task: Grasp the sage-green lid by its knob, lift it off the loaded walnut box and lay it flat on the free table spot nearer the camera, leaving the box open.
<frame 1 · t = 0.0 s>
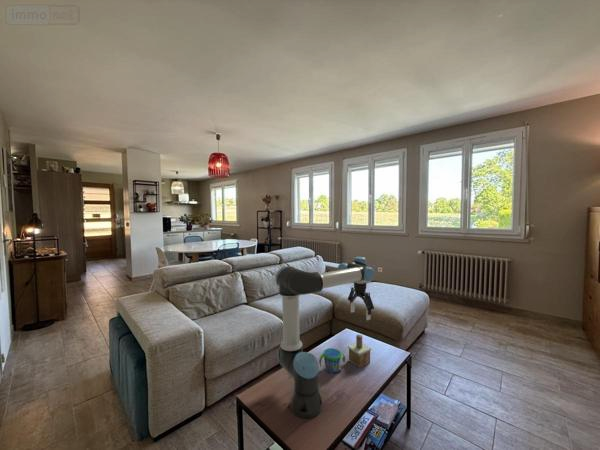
hand: (360, 315, 156), 28 cm above the table, fingers open, 13 cm apart
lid: (359, 349, 155), point 8 cm above the table, touching box
snack cup: (332, 369, 148), on the table
box: (359, 361, 156), on the table
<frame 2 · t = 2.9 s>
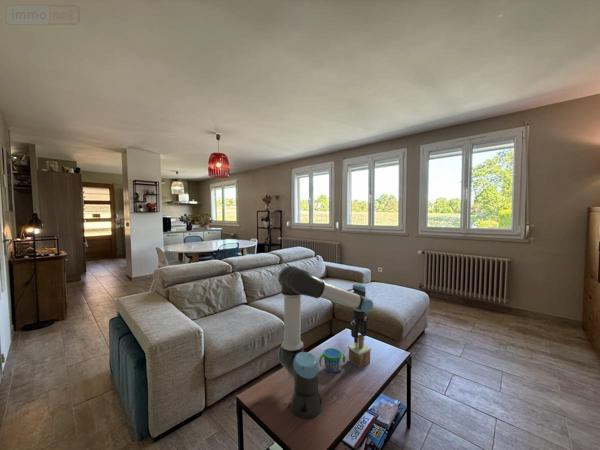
hand: (359, 346, 155), 10 cm above the table, fingers closed on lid, 3 cm apart
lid: (359, 349, 155), point 8 cm above the table, touching box, gripper
everything else where it was.
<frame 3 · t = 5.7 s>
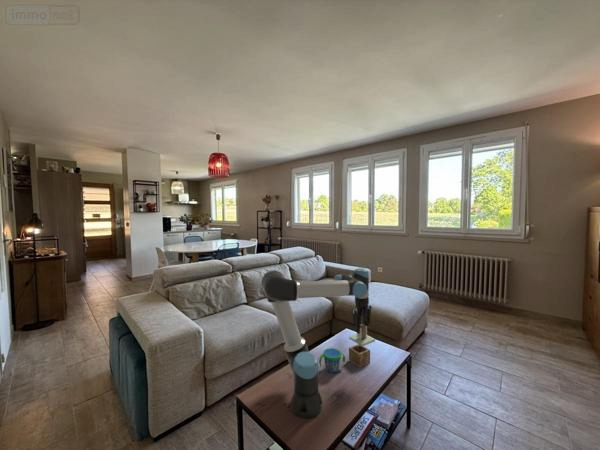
hand: (362, 337, 142), 22 cm above the table, fingers closed on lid, 3 cm apart
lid: (362, 339, 142), point 20 cm above the table, touching gripper
everything else where it was.
when the fingers open (4 cm above the table, at t = 8.8 s): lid drops 3 cm, on the table.
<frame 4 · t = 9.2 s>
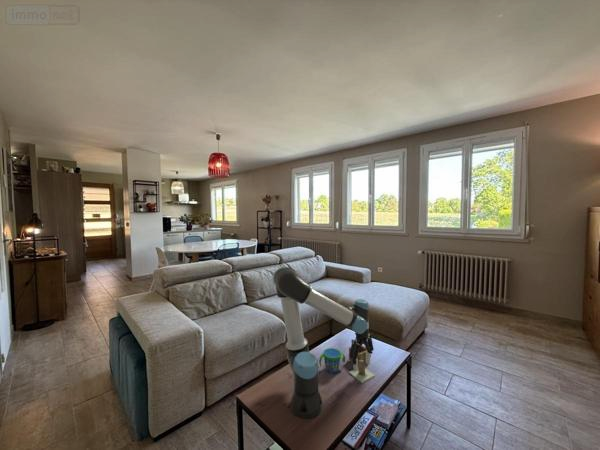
hand: (361, 366, 143), 5 cm above the table, fingers open, 9 cm apart
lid: (361, 375, 143), on the table
everything else where it was.
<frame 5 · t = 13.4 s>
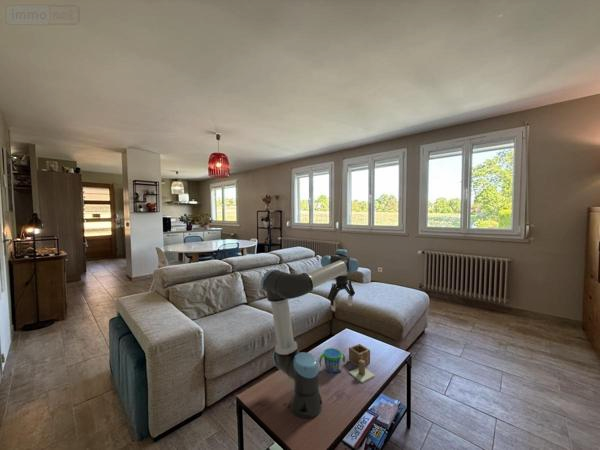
hand: (341, 308, 157), 33 cm above the table, fingers open, 13 cm apart
nothing on the table moved.
at the end: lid inside the target area (0.1 cm from its centre), on the table; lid tilted 0°; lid touching table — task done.
